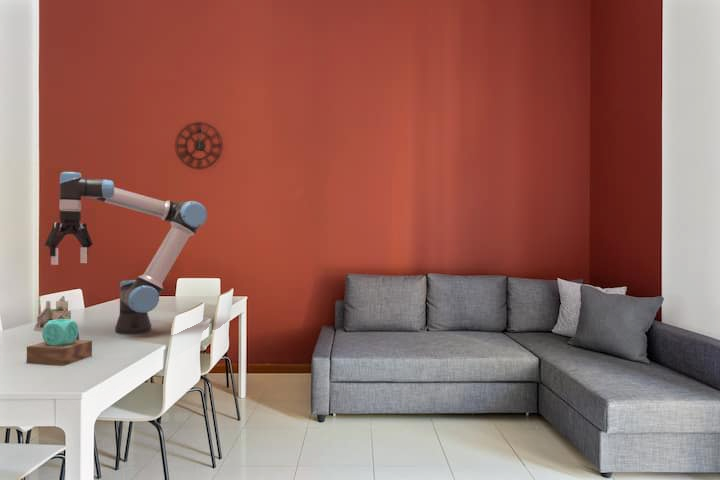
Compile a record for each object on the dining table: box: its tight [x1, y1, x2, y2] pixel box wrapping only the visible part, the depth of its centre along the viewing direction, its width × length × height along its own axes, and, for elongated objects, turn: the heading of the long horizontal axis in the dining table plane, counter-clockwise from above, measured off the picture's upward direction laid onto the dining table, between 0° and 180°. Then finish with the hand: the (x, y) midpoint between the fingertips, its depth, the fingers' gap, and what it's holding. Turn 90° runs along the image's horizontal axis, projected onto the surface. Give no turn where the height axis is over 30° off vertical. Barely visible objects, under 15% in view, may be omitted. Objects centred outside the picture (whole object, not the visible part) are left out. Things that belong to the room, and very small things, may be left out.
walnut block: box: [26, 339, 93, 367], centre depth 179 cm, size 14×14×6 cm
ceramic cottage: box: [34, 295, 72, 332], centre depth 232 cm, size 16×16×15 cm
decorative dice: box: [41, 319, 79, 346], centre depth 179 cm, size 8×8×8 cm
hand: (69, 264), depth 205 cm, fingers open, 13 cm apart
